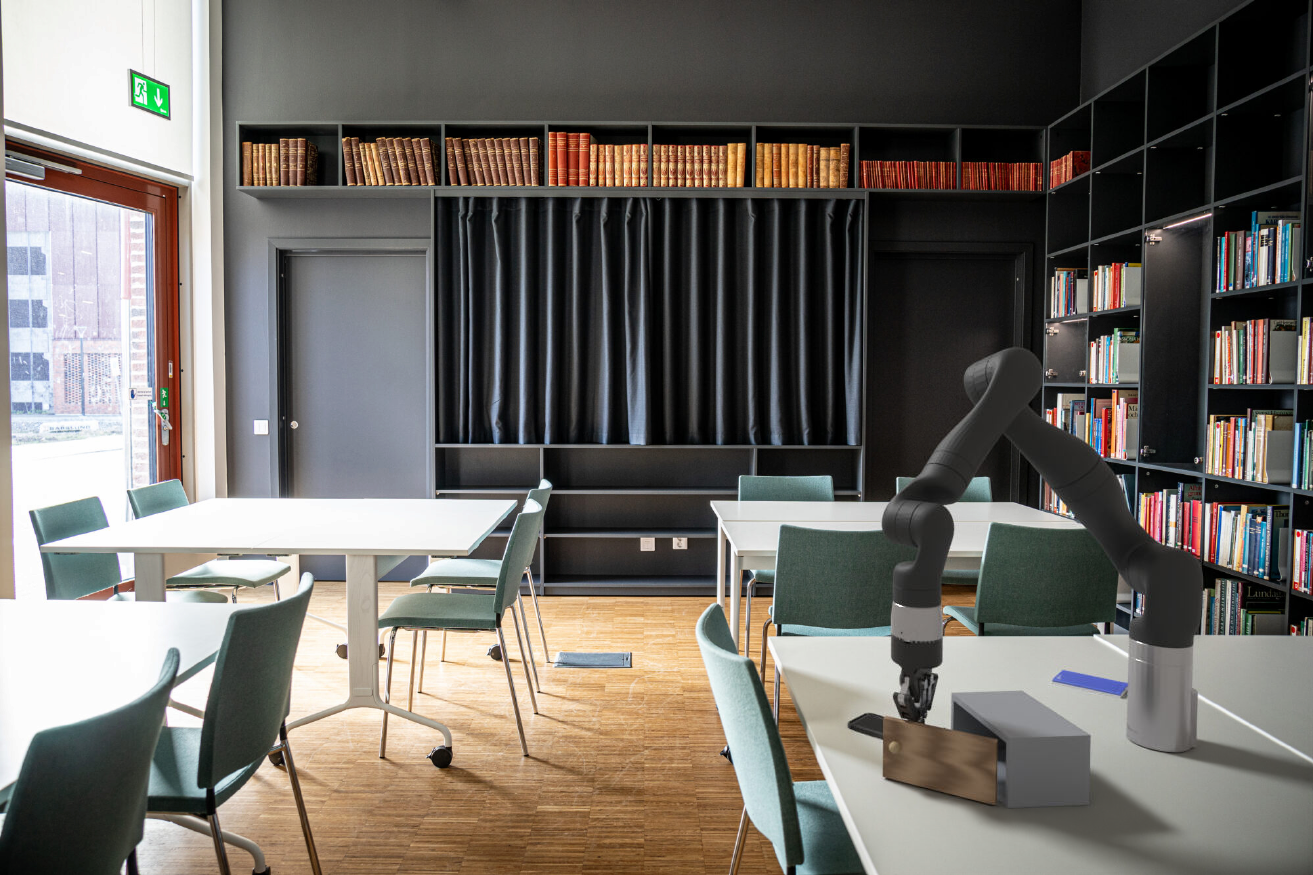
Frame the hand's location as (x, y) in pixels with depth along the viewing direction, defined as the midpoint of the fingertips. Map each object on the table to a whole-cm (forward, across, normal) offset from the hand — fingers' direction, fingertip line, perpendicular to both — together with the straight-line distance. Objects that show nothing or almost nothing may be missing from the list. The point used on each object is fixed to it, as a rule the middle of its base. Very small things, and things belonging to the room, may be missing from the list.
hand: (915, 742), depth 124 cm
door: (+5, +4, +5) cm, 8 cm away
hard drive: (+7, -61, +13) cm, 63 cm away
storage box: (+5, -8, +12) cm, 16 cm away
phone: (+6, -13, -8) cm, 16 cm away
